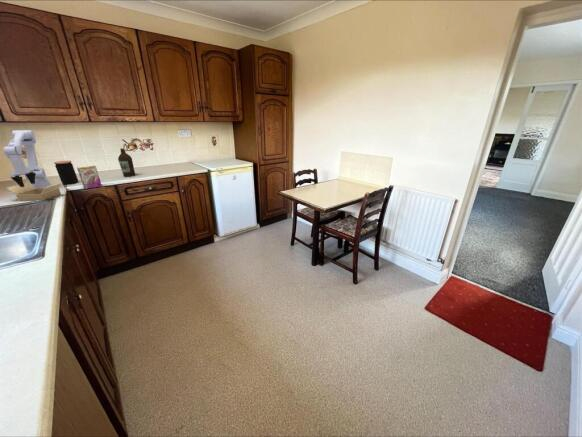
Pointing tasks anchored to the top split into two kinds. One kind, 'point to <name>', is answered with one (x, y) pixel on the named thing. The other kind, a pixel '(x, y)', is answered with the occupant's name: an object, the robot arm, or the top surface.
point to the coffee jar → (66, 172)
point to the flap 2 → (52, 187)
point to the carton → (37, 195)
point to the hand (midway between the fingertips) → (27, 185)
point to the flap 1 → (20, 188)
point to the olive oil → (126, 164)
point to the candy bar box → (89, 176)
